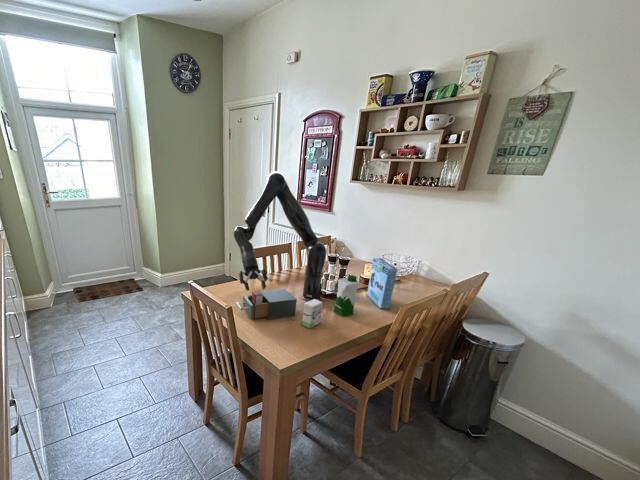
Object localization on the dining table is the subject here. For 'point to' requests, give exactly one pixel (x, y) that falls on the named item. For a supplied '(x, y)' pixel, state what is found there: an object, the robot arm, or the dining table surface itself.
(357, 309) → the dining table surface
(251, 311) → the drawer
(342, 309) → the milk carton
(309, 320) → the ink box
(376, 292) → the light blue box
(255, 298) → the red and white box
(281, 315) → the cabinet
